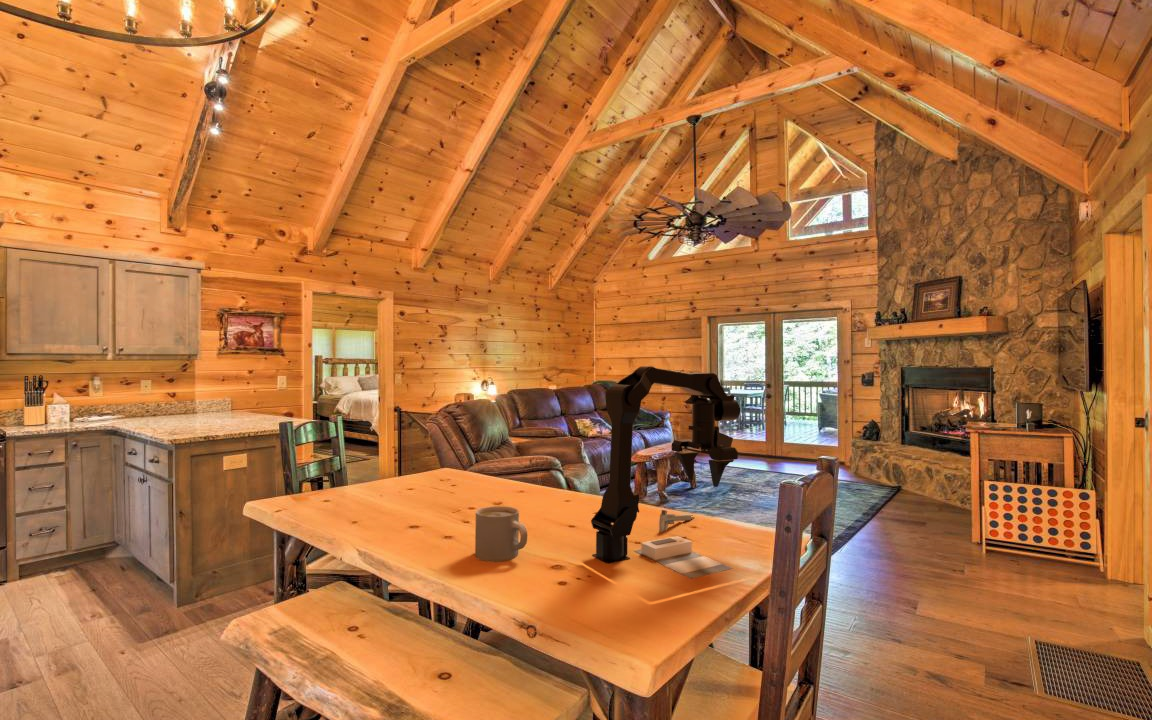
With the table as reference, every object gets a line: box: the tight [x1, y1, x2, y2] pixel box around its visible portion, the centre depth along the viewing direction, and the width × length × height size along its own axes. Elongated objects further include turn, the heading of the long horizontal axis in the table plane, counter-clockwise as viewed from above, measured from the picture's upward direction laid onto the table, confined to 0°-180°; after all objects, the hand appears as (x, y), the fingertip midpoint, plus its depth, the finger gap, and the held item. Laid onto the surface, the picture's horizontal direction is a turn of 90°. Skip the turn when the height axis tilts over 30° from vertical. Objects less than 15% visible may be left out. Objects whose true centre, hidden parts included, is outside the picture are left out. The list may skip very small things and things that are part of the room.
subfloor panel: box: [633, 549, 733, 579], centre depth 128 cm, size 12×20×1 cm, turn 31°
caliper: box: [658, 509, 695, 533], centre depth 158 cm, size 20×1×6 cm, turn 144°
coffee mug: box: [474, 505, 528, 563], centre depth 131 cm, size 13×10×10 cm
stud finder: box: [640, 535, 693, 560], centre depth 132 cm, size 11×5×3 cm, turn 121°
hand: (702, 483), depth 144 cm, fingers open, 9 cm apart
